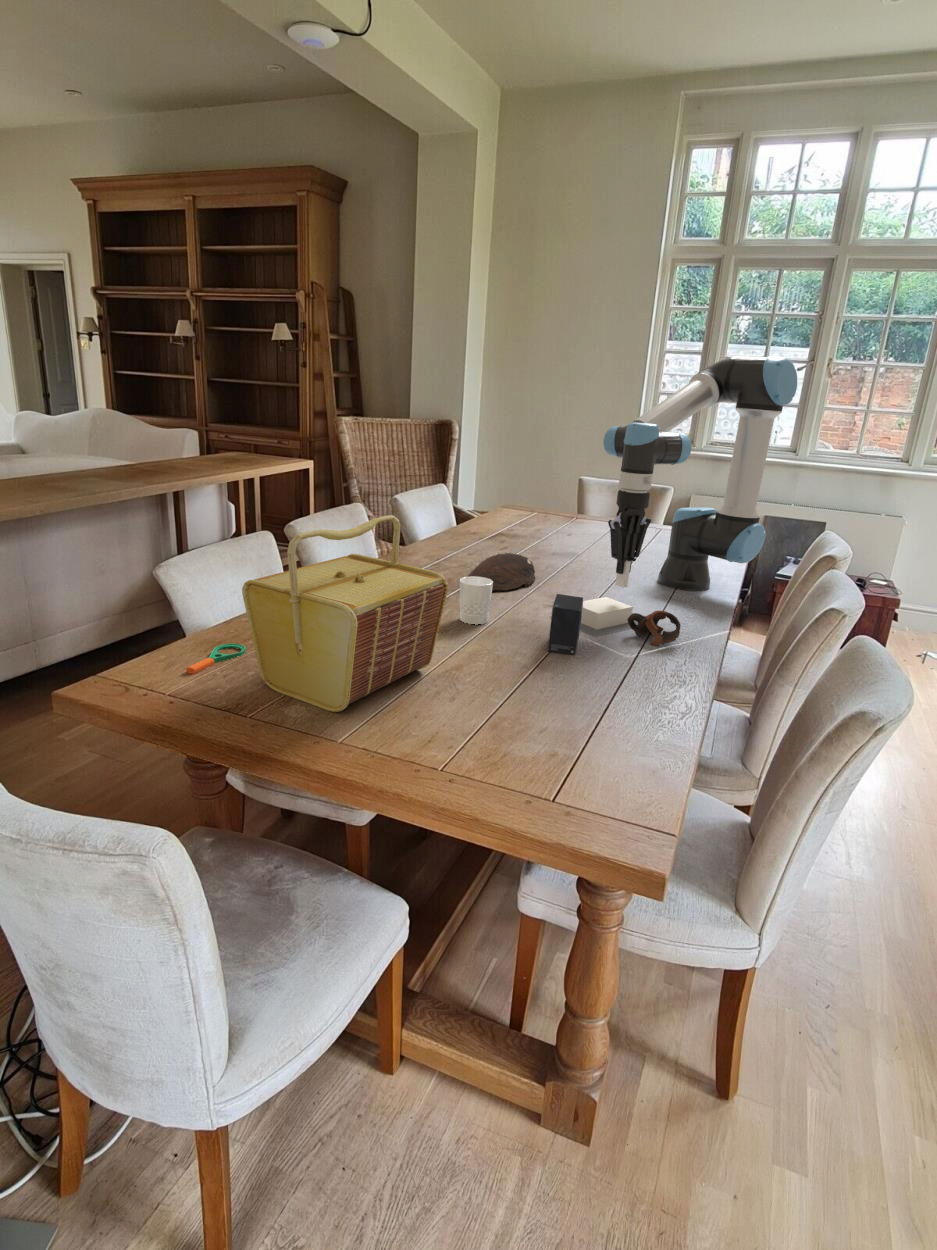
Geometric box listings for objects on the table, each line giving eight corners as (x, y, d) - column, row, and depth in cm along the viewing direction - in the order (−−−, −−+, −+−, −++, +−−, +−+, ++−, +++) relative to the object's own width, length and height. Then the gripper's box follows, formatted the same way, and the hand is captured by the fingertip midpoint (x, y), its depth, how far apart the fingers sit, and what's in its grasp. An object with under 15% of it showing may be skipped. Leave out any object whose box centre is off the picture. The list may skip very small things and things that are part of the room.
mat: (610, 606, 189) (610, 604, 189) (657, 624, 177) (658, 622, 177) (548, 618, 176) (549, 616, 176) (595, 638, 164) (595, 636, 164)
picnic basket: (349, 727, 117) (350, 549, 107) (240, 686, 129) (232, 523, 119) (447, 673, 140) (455, 523, 130) (348, 642, 153) (348, 503, 143)
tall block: (606, 596, 181) (572, 603, 174) (632, 606, 174) (598, 613, 168) (604, 611, 183) (570, 618, 176) (630, 622, 176) (596, 629, 169)
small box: (576, 656, 153) (582, 609, 150) (546, 652, 154) (551, 606, 151) (579, 639, 163) (584, 596, 159) (551, 636, 164) (555, 592, 161)
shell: (519, 606, 191) (517, 578, 188) (450, 604, 198) (447, 577, 195) (547, 567, 221) (546, 542, 218) (486, 566, 227) (484, 542, 224)
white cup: (495, 619, 173) (498, 579, 170) (482, 628, 166) (484, 587, 163) (466, 613, 176) (468, 574, 173) (452, 622, 169) (454, 581, 166)
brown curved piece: (671, 636, 170) (686, 614, 164) (667, 665, 164) (681, 643, 158) (624, 619, 171) (636, 596, 165) (617, 646, 165) (630, 624, 158)
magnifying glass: (227, 647, 148) (226, 639, 147) (252, 651, 146) (251, 644, 145) (177, 673, 134) (176, 664, 133) (204, 678, 132) (203, 670, 132)
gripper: (627, 494, 162) (614, 592, 170) (664, 491, 170) (650, 586, 177) (603, 488, 168) (591, 584, 176) (640, 487, 175) (627, 579, 183)
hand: (621, 585), depth 176 cm, fingers closed
